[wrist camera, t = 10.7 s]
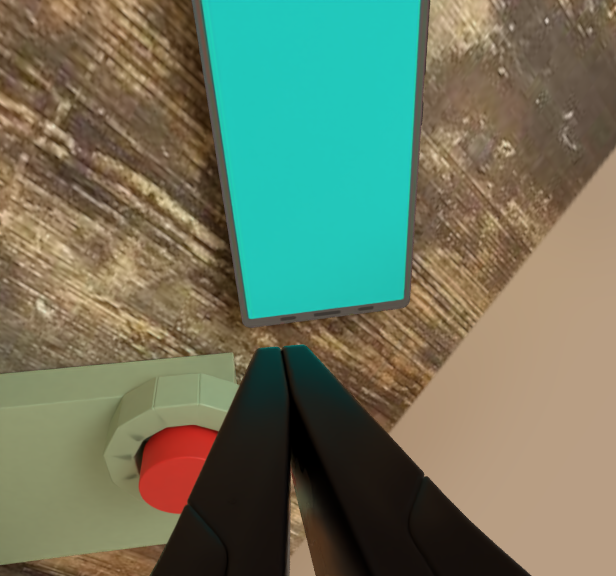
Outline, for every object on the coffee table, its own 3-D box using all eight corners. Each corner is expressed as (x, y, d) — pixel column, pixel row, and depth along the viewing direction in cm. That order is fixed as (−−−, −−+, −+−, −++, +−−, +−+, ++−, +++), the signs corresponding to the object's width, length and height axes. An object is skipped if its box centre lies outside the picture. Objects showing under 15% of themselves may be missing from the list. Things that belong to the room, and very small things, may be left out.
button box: (254, 333, 24) (260, 397, 21) (267, 495, 31) (273, 563, 28) (-103, 365, 23) (-157, 439, 19) (-8, 529, 29) (-36, 605, 26)
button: (226, 418, 22) (226, 452, 21) (233, 474, 24) (234, 508, 23) (136, 427, 22) (130, 463, 20) (151, 483, 24) (146, 519, 22)
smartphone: (243, 329, 23) (174, -109, 14) (242, 317, 23) (176, -108, 15) (411, 307, 23) (440, -125, 15) (406, 296, 24) (430, -123, 16)
